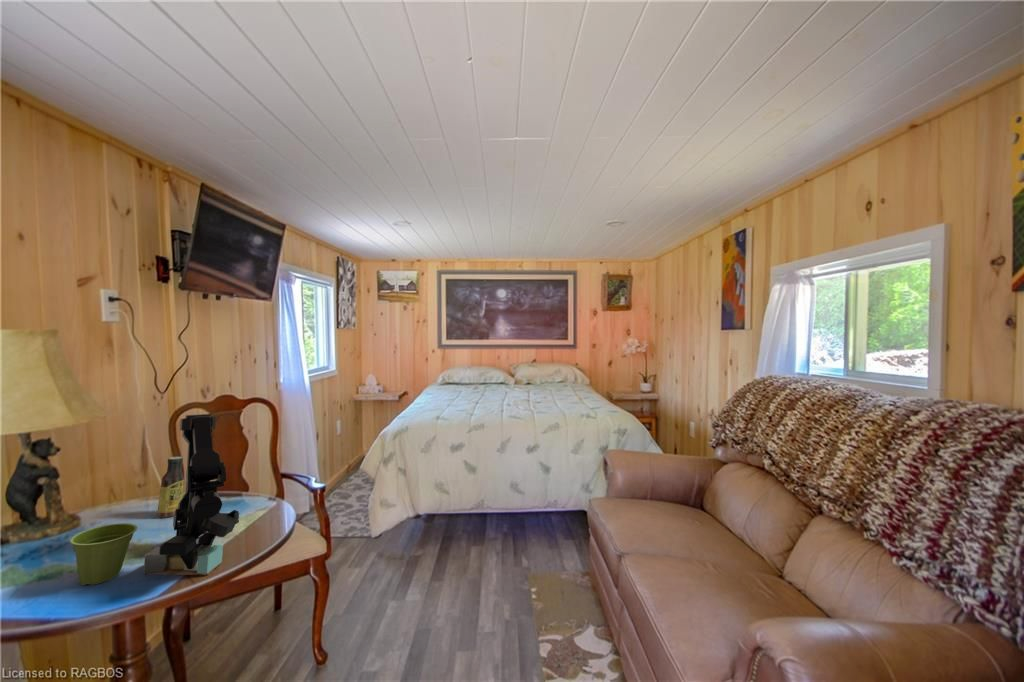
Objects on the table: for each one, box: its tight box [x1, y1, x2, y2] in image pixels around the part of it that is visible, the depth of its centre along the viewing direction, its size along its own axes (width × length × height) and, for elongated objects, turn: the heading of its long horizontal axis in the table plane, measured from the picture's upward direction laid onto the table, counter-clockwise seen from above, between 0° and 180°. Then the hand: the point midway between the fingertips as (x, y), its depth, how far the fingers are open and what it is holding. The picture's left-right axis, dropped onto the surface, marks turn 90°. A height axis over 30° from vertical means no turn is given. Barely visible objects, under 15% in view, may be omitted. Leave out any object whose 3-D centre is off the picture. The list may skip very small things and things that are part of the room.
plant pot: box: [69, 522, 138, 586], centre depth 97 cm, size 12×12×11 cm
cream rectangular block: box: [166, 545, 210, 571], centre depth 102 cm, size 11×4×5 cm, turn 93°
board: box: [143, 562, 222, 576], centre depth 102 cm, size 16×5×1 cm, turn 93°
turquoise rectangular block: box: [197, 544, 224, 574], centre depth 102 cm, size 2×6×5 cm, turn 4°
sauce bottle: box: [157, 456, 185, 519], centre depth 133 cm, size 7×6×20 cm
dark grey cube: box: [143, 545, 169, 573], centre depth 102 cm, size 5×5×4 cm
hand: (196, 564), depth 102 cm, fingers open, 4 cm apart
